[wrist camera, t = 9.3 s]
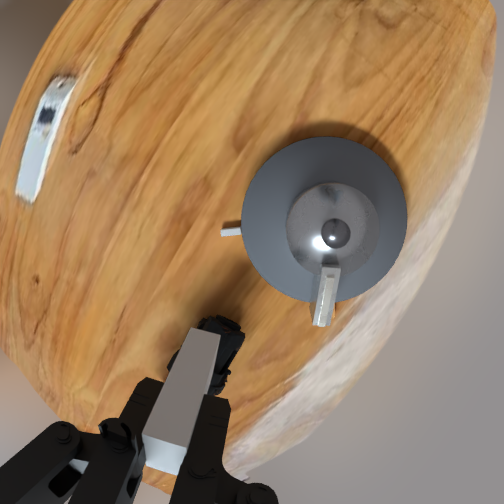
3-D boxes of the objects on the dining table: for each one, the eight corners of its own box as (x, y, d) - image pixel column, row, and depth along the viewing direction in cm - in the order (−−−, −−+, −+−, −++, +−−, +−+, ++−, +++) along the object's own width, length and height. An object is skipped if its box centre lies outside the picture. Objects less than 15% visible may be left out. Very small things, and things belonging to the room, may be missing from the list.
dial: (289, 176, 30) (291, 179, 26) (376, 187, 29) (390, 191, 25) (277, 305, 35) (277, 323, 31) (354, 309, 34) (362, 327, 30)
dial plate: (246, 115, 30) (244, 113, 28) (417, 167, 30) (425, 168, 28) (210, 289, 37) (206, 296, 36) (364, 322, 37) (367, 330, 36)
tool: (247, 315, 47) (262, 342, 32) (187, 416, 45) (180, 467, 30) (204, 292, 46) (200, 310, 31) (147, 396, 44) (127, 443, 29)
